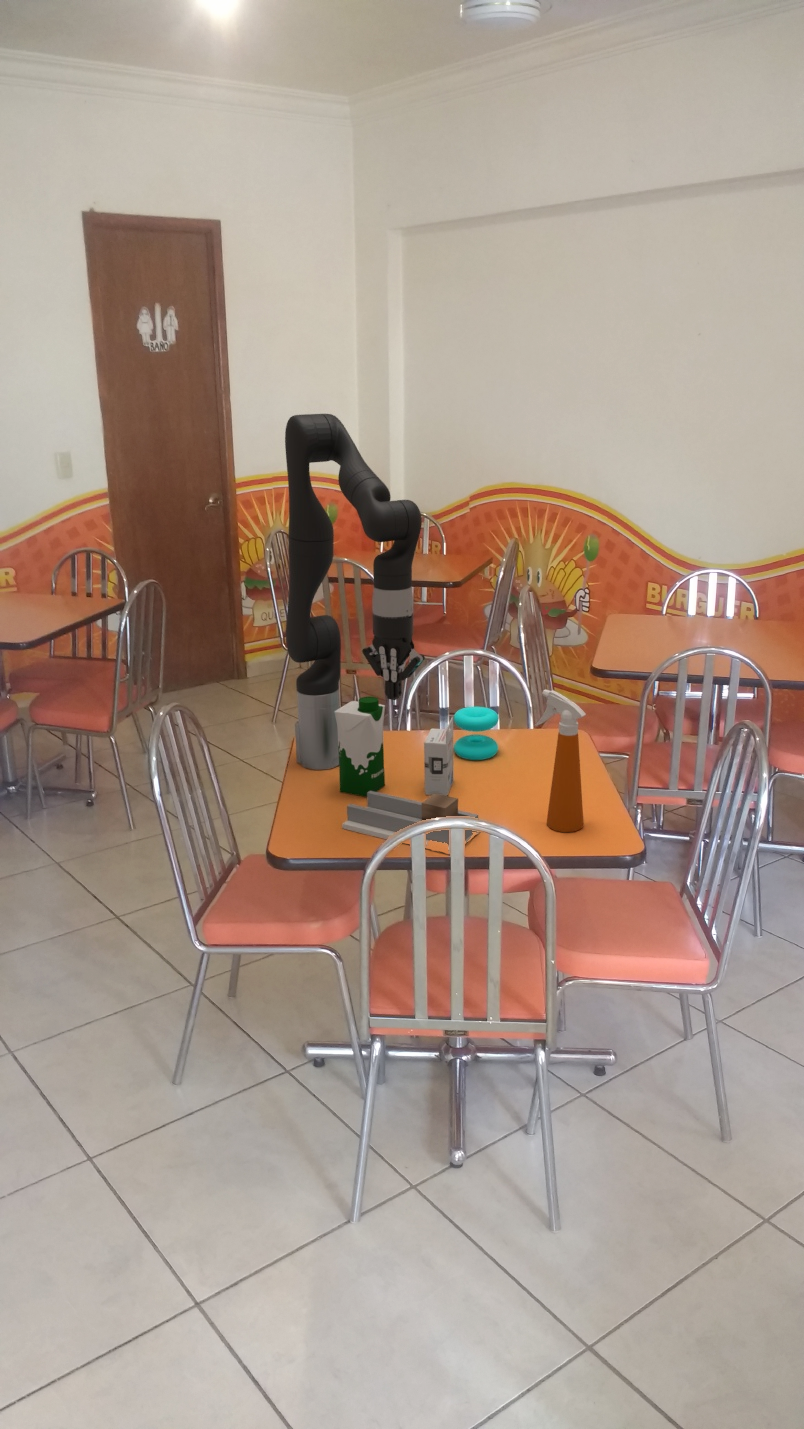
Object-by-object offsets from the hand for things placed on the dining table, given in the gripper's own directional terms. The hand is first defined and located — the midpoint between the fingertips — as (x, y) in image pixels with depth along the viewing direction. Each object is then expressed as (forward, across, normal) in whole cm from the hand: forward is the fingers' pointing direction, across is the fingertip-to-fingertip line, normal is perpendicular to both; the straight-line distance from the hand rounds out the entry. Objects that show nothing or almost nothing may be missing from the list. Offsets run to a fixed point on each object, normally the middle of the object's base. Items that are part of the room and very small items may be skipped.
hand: (393, 698), depth 197 cm
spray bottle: (+24, +30, +12) cm, 40 cm away
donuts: (+25, -1, +36) cm, 44 cm away
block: (+22, +13, -5) cm, 26 cm away
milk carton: (+25, -12, +7) cm, 28 cm away
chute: (+24, +7, -5) cm, 25 cm away
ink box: (+24, +2, +15) cm, 29 cm away
